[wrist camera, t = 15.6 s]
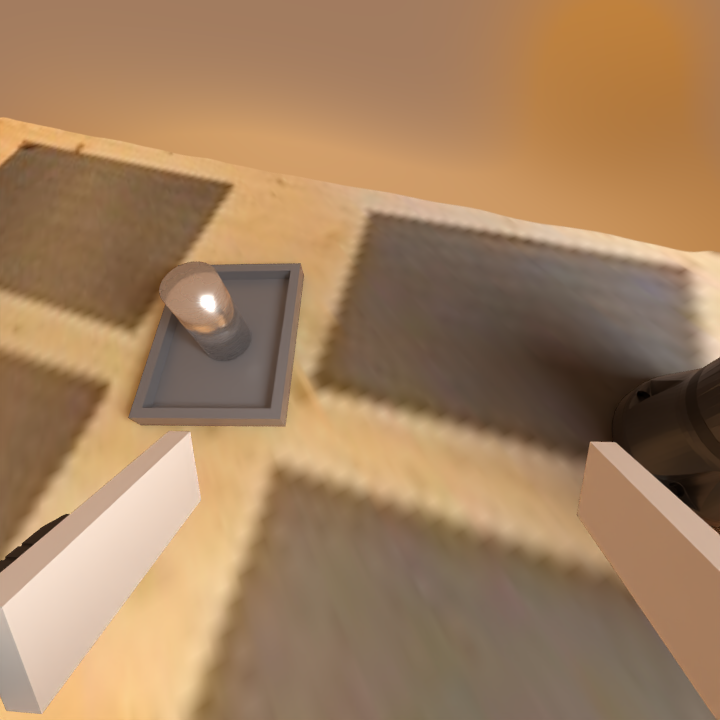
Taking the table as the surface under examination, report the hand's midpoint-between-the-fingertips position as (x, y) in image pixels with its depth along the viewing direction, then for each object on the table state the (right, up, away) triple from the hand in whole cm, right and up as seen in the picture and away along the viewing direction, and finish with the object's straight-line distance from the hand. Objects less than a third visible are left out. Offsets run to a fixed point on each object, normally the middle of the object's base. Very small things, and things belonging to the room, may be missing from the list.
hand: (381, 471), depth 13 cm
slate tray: (-17, +6, +36) cm, 41 cm away
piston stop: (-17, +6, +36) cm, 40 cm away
